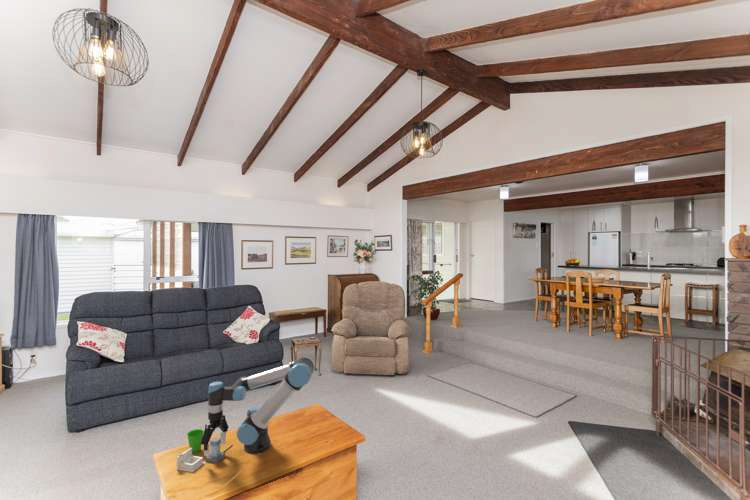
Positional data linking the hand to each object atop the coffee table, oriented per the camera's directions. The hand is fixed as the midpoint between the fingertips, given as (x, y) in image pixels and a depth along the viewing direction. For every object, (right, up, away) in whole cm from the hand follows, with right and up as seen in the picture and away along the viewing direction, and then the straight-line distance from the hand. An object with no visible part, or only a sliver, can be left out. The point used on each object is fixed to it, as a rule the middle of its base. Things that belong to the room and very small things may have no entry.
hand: (215, 449), depth 210 cm
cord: (+3, -6, +9) cm, 11 cm away
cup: (-15, -6, +9) cm, 19 cm away
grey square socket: (0, -6, 0) cm, 6 cm away
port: (-10, -6, -7) cm, 13 cm away
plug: (0, -5, 0) cm, 5 cm away
